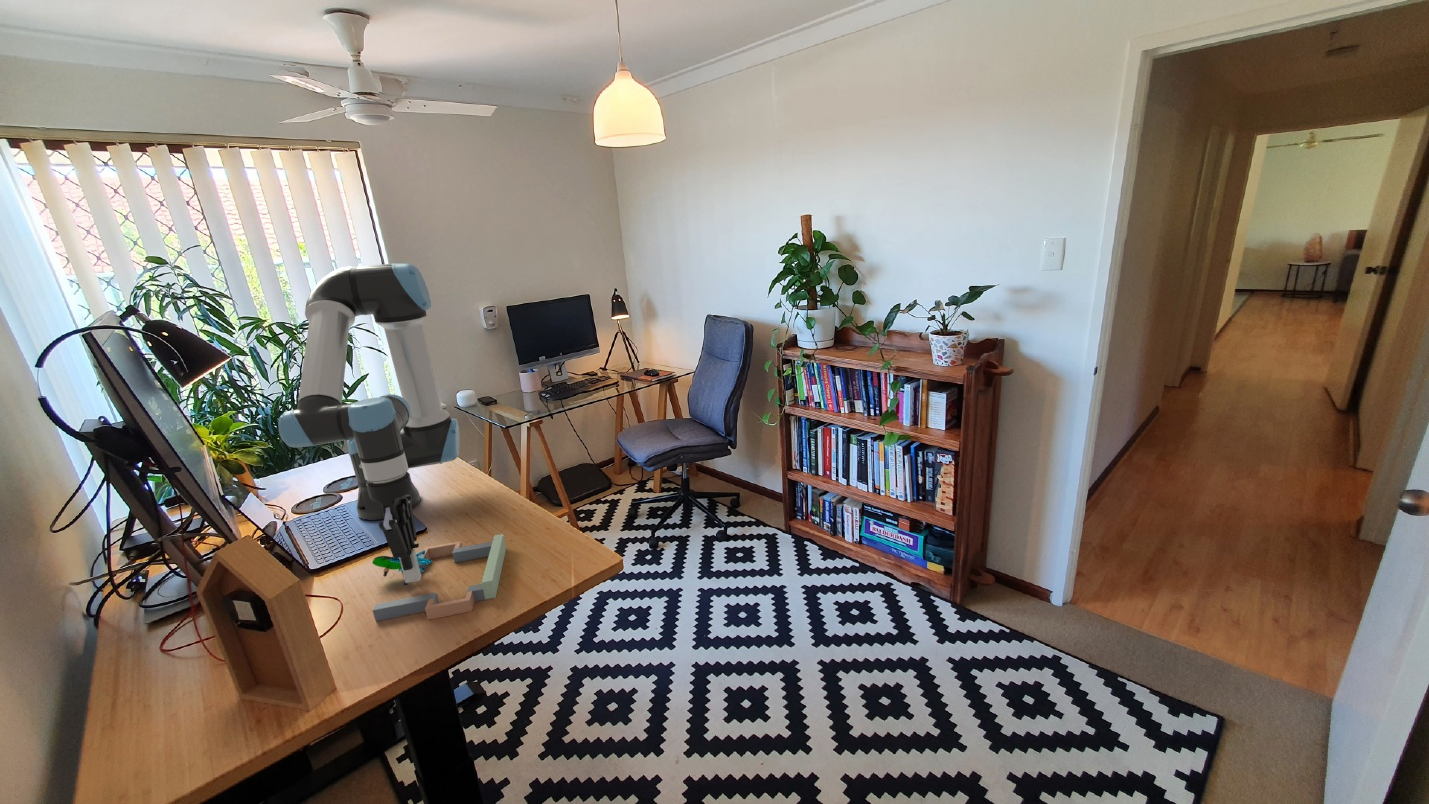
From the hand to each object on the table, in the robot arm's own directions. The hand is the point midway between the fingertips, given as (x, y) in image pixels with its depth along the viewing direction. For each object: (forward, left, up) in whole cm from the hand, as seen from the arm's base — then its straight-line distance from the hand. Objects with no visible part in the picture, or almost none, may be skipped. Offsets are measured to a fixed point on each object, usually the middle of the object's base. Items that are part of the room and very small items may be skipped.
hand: (413, 579), depth 113 cm
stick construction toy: (-6, -3, -3) cm, 7 cm away
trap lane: (0, +5, -2) cm, 6 cm away
